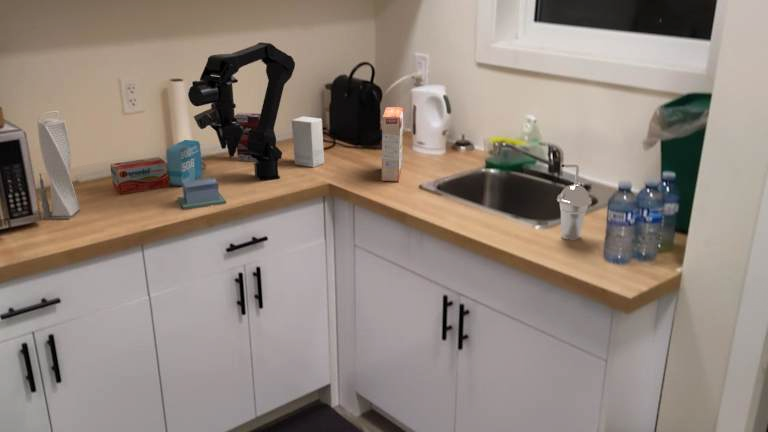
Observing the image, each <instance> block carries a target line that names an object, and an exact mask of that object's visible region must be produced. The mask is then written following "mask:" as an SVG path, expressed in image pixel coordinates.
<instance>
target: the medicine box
mask: <svg viewBox="0 0 768 432" xmlns="http://www.w3.org/2000/svg"><path fill="white" fill-rule="evenodd" d="M110 175H111V182H112V185H113V188H114V189H115V190H116V192H117V193H118V194H119V195H120V196H122V195H129V194H134V193H139V192H140V193H141V192H146V191H153V190H158V189H165V188H169V187H170V182H169V173H168V164H167V161H165V160H164V159H163V158H161V157H160V156H155V157H147V158H141V159H133V160H128V161H127V160H126V161H122V162H121V161H120V162H115V163H114V162H113V163H110Z"/></svg>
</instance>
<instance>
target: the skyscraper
mask: <svg viewBox="0 0 768 432" xmlns="http://www.w3.org/2000/svg"><path fill="white" fill-rule="evenodd" d="M52 113H56V117H55V118H53V117H52V118H51V117H50V118H46V119H44V121H41V120H42V119H43V117H45V116H47V115H49V114H52ZM59 116H60V111H59V110H51V111H50V110H49V111H47V112H44V113H43V114H41V115H40V116H39V117H38V120H37V121H36V122H37V132H38V141H39V147H40V148H39V150H40V154H41V159H42V161H43V165H44V168H45V171H46V173H47V175H48V176H47V177H48V178H49V181H50V184H49V185H50V186H49V187H50V200H51V201H50V203H51V204H49V200H48V196H47V189H46V188H45V185H44V179H43V178H42V173H39V174H38V175H39V184H40V189H39V192H40V196H41V202H42V203H41V207H42V210H43V217H42V220H46V221H48V220H51V221H52V220H54V221H55V220H56V221H57V220H58V221H69V220H71V219H72V218H73V217H74V216H75V215H77V214H78V213H79V212H80V211H81V209H80V205H79V202H78V198H77V195H76V191H75V188H74V185H73V182H72V178H71V176H70V174H71V165H72V156H71V155H72V153H71V144H70V138H69V133H68V128H67V124H66V121H65V120H59ZM50 205H51V211H50Z"/></svg>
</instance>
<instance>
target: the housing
mask: <svg viewBox="0 0 768 432" xmlns="http://www.w3.org/2000/svg"><path fill="white" fill-rule="evenodd" d="M181 187H182V194H183V196H184V199H186V200H187V204H193V203H200V202H207V201H213V200H219V193H220V191H219V189H220V188H219V182H218V181H217V180H216V179H215V177H207V178H201V179H200V178H198V179H197V180H191V181H183V182H182V186H181ZM183 196H182V197H183Z"/></svg>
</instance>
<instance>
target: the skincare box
mask: <svg viewBox="0 0 768 432" xmlns="http://www.w3.org/2000/svg"><path fill="white" fill-rule="evenodd" d="M291 130H292V140H293V141H292V142H293V143H292V144H293V154H294V165H297V166H303V167H308V168H316V167H319V166H321V165H322V164H325V155H324V152H325V151H324V139H323V120H322V118H320V117H311V116H305V115H304V116H303V115H302V116H300V117H297V118H294V119H292V120H291Z"/></svg>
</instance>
